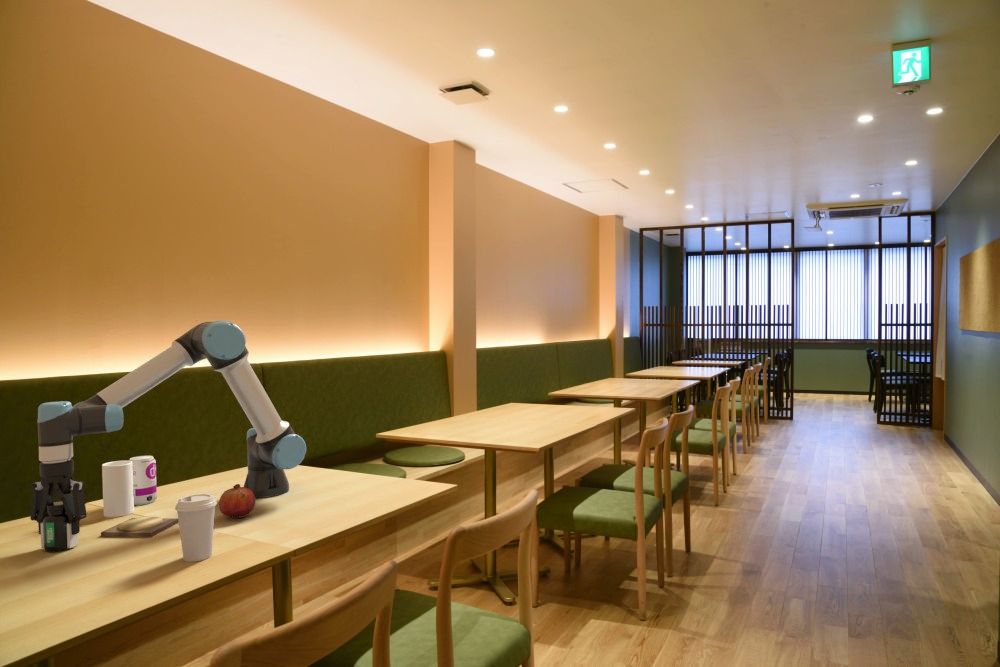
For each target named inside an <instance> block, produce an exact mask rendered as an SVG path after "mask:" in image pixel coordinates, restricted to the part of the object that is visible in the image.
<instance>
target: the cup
mask: <svg viewBox="0 0 1000 667" xmlns="http://www.w3.org/2000/svg"><path fill="white" fill-rule="evenodd" d="M129 460H130V459H128V460H115V461H113V460H112V461H109V462H105V463H102V464H101V477H102V500H103V501H102V504H103V508H102V509H103V517H104V518H120V517H124V516H129V515H131V514H134V512H135V505H134V496H133V466H132V461H129Z"/></svg>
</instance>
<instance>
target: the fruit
mask: <svg viewBox="0 0 1000 667" xmlns="http://www.w3.org/2000/svg"><path fill="white" fill-rule="evenodd" d="M218 501H219V502H218V507H219V510H220V513H221V514H222V515H223V516H225V517H228V518H233V519H234V518H235V519H236V518H238V519H239V518H243V517H246V516H249V514H251V513H252V512H253V510H254V509H255V507H256V497H255V496H254V494H253V492H252V491H251V490H250V489H248V488H246V487H244V486H241V484H239V483H236V484H235V485H233V486H232V488H229V489H228V488H227V490H225V491H224V492H223V493H221V495H220V497H219V500H218Z"/></svg>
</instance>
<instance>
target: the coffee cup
mask: <svg viewBox="0 0 1000 667" xmlns="http://www.w3.org/2000/svg"><path fill="white" fill-rule="evenodd" d="M217 504H218V502H217V500H216V499H215V497H214V495H213V494H211V493H195V494H189V495H186V496H181V497H180V498H179V499H178V500H177V503H176V505H175V506H174V510H175V511H176V514H177V518H178V520H179V523H178V525H179V535H180V544H181V550H182V558H183V561H184V562H187V563H188V562H191V563H192V562H193V563H194V562H200V561H204V560H207V559H210V558H211V557H212V555H213V540H214V527H215V525H214V523H215V510H216V509H215V508H216V506H217Z"/></svg>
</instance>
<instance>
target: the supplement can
mask: <svg viewBox="0 0 1000 667" xmlns="http://www.w3.org/2000/svg"><path fill="white" fill-rule="evenodd" d="M128 460H129V461H132V466H133V496H134V506H141V505H148V504H152V503H153V502H155V501H156V500H157V498H158V495H157V494H158V493H157V492H158V491H157V487H158V486H157V464H156V463H157V462H156V459H155V458H154V456H153V455H139V456H138V455H137V456H133V457H130V458H129V459H128Z"/></svg>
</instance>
